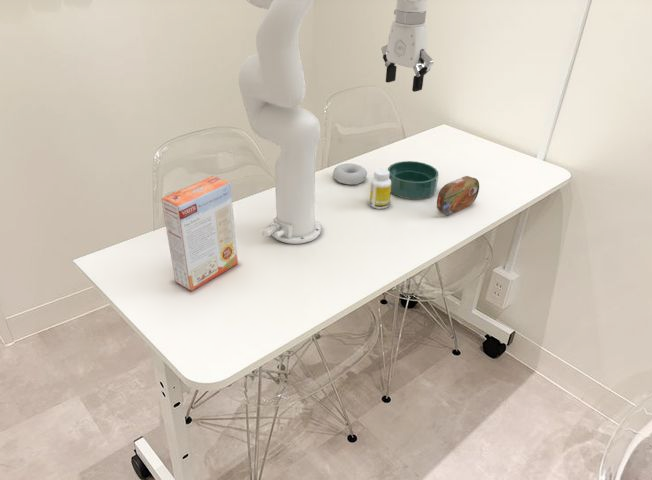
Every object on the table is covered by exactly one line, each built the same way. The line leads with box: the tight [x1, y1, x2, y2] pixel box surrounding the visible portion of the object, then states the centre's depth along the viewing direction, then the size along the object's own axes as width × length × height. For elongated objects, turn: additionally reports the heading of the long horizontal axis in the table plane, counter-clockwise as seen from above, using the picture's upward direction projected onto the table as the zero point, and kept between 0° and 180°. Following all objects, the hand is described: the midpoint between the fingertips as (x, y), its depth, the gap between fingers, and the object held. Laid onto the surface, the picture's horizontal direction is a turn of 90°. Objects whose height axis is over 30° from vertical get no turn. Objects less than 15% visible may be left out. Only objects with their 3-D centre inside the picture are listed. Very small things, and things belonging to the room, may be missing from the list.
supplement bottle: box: [369, 168, 391, 210], centre depth 157 cm, size 5×5×10 cm
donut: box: [332, 162, 368, 185], centre depth 172 cm, size 10×4×10 cm
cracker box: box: [161, 175, 238, 292], centre depth 125 cm, size 14×6×21 cm, turn 141°
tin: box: [436, 175, 480, 216], centre depth 157 cm, size 15×3×8 cm, turn 129°
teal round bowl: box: [387, 160, 439, 200], centre depth 167 cm, size 14×14×6 cm
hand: (403, 86), depth 156 cm, fingers open, 9 cm apart
